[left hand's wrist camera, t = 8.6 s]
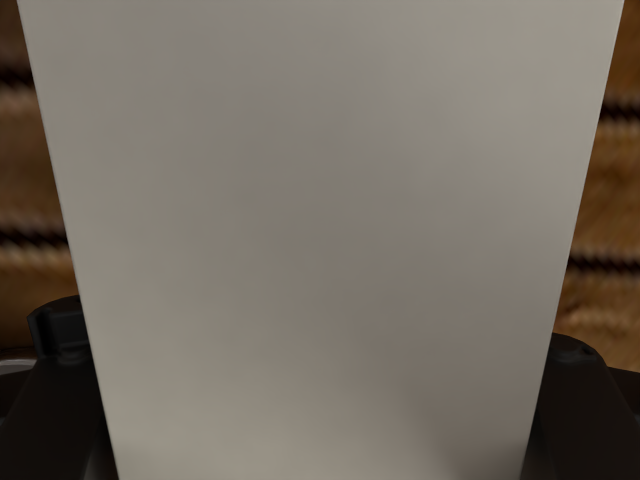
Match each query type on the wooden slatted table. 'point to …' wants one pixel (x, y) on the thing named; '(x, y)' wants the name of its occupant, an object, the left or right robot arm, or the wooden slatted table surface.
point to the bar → (320, 223)
